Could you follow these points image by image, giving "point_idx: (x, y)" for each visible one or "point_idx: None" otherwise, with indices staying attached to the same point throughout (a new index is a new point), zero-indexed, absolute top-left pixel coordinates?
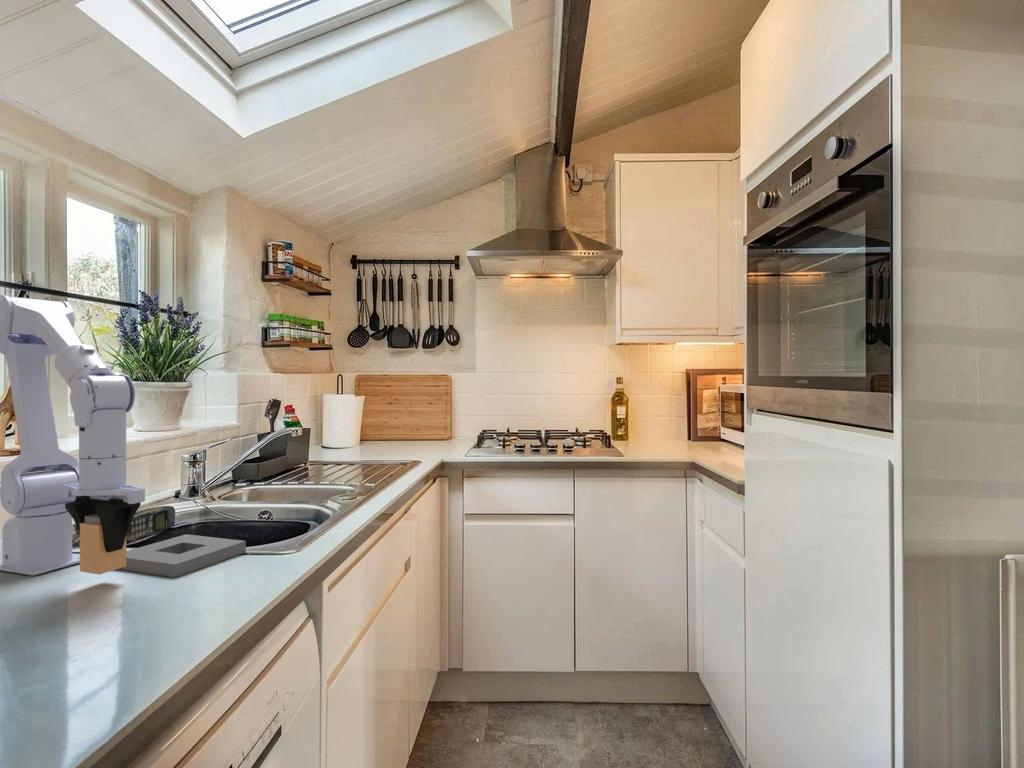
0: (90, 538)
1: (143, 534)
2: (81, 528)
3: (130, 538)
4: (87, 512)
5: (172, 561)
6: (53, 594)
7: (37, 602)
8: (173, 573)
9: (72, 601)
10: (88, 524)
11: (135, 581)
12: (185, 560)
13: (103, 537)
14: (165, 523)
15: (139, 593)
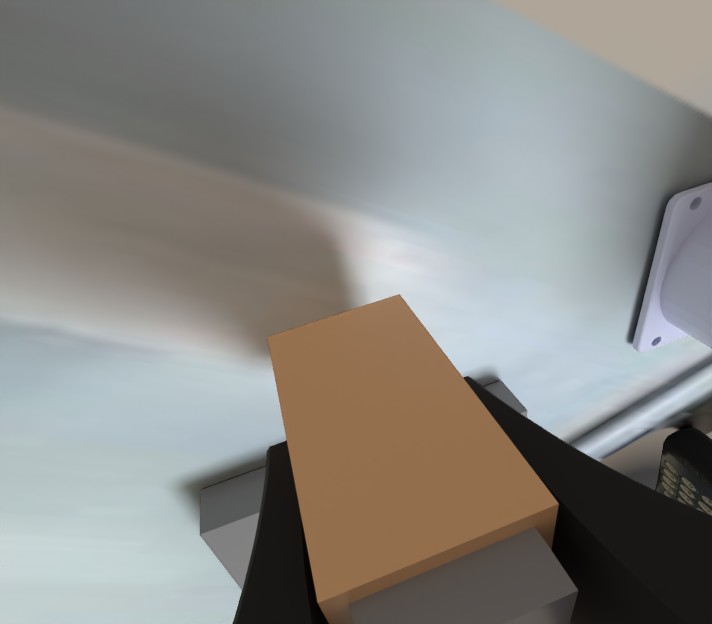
0: (384, 453)
1: (664, 484)
2: (514, 473)
3: (668, 460)
4: (622, 619)
5: (253, 530)
6: (391, 166)
7: (335, 74)
8: (210, 499)
9: (206, 183)
10: (456, 544)
11: (277, 403)
12: (224, 558)
13: (299, 513)
14: None
15: (90, 386)
